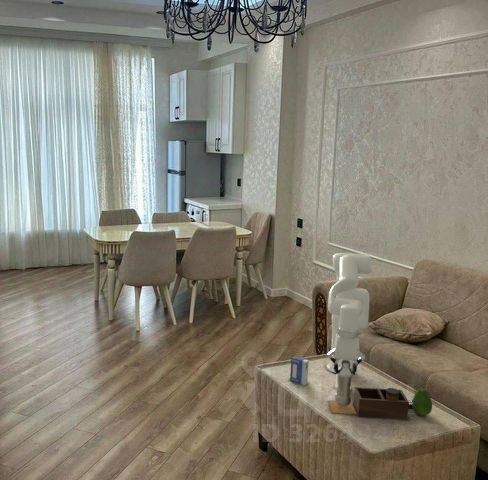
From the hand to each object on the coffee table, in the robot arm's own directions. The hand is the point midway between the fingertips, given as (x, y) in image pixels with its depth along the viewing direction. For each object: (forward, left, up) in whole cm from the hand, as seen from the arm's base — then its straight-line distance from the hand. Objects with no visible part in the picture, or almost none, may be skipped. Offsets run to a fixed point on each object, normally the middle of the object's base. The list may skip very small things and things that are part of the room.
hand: (344, 372), depth 231 cm
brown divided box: (+1, +15, -17) cm, 23 cm away
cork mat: (0, 0, -17) cm, 17 cm away
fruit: (+2, +32, -17) cm, 37 cm away
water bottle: (-18, +3, -17) cm, 25 cm away
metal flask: (0, 0, -15) cm, 15 cm away
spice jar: (+1, +20, -17) cm, 26 cm away
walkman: (-23, -17, -17) cm, 33 cm away
